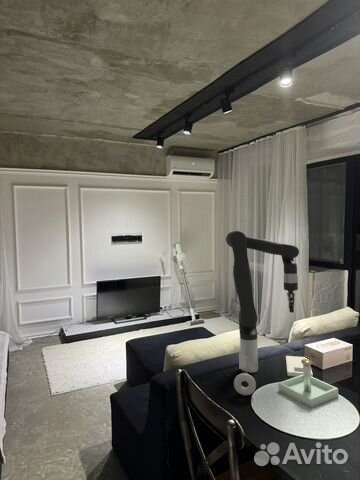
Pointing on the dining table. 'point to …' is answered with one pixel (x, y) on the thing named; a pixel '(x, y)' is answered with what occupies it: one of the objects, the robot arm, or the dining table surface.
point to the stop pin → (307, 374)
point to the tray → (315, 397)
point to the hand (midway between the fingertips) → (291, 310)
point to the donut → (247, 378)
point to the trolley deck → (295, 366)
